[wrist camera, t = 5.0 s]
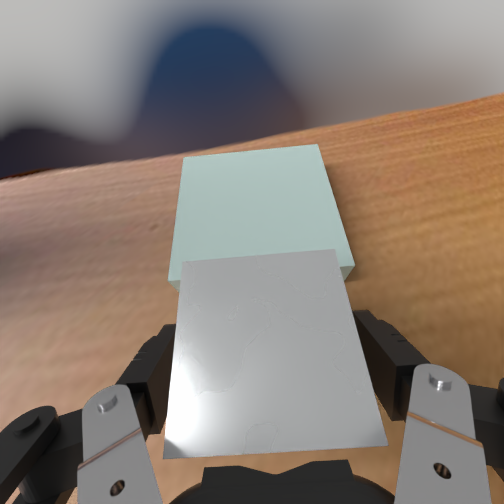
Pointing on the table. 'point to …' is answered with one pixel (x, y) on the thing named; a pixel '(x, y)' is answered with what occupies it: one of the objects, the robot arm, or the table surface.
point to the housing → (268, 360)
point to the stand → (256, 207)
